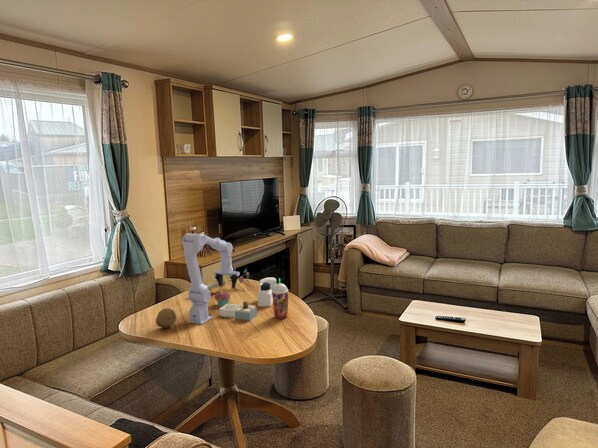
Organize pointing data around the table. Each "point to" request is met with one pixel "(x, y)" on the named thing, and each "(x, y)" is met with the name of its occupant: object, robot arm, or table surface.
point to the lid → (245, 308)
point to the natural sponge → (165, 318)
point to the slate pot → (245, 315)
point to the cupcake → (222, 298)
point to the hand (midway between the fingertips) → (227, 287)
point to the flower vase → (216, 284)
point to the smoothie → (280, 300)
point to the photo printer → (269, 281)
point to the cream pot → (228, 310)
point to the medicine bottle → (264, 295)
